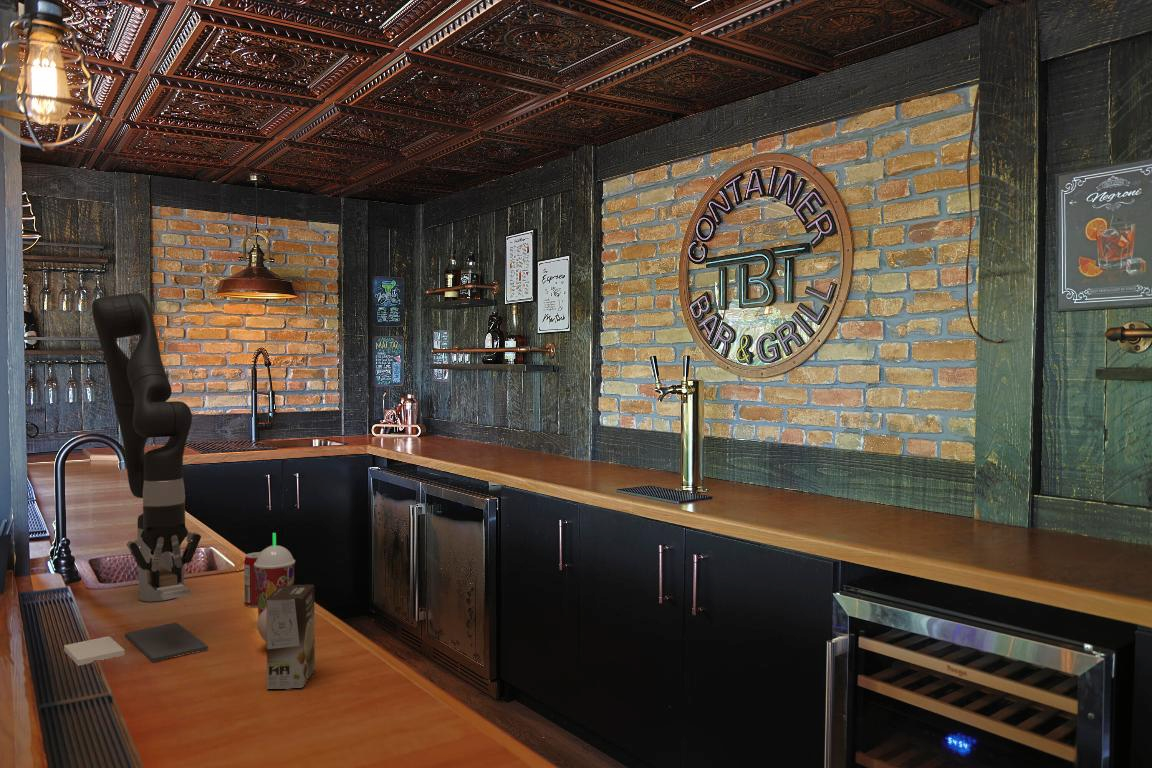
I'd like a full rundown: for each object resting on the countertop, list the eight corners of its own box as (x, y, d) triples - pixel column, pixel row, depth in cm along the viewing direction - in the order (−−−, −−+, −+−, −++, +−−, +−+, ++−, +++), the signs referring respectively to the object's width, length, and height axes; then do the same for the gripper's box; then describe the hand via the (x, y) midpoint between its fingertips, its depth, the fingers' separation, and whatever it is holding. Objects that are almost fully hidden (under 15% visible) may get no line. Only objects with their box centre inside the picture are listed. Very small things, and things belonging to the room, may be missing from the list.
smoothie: (304, 621, 182) (302, 530, 182) (278, 633, 174) (277, 538, 174) (272, 617, 185) (271, 528, 184) (246, 629, 177) (244, 535, 176)
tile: (109, 636, 170) (124, 649, 162) (109, 643, 170) (124, 658, 162) (63, 645, 165) (77, 660, 157) (64, 653, 165) (78, 668, 157)
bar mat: (176, 626, 179) (176, 622, 179) (207, 650, 165) (207, 646, 165) (125, 636, 173) (125, 632, 173) (153, 662, 158) (153, 658, 158)
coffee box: (304, 689, 145) (302, 598, 144) (266, 691, 144) (264, 599, 144) (316, 670, 154) (314, 583, 154) (280, 671, 154) (279, 584, 153)
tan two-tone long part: (142, 584, 171) (142, 569, 171) (166, 580, 174) (166, 565, 174) (164, 599, 160) (164, 584, 160) (189, 595, 163) (189, 580, 163)
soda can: (275, 602, 196) (274, 552, 196) (257, 609, 191) (256, 557, 191) (257, 599, 199) (256, 549, 198) (239, 606, 194) (238, 554, 193)
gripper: (194, 495, 174) (196, 577, 175) (120, 503, 165) (121, 590, 165) (207, 499, 168) (208, 584, 169) (130, 508, 159) (132, 598, 160)
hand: (165, 586), depth 167 cm, fingers closed on tan two-tone long part, 3 cm apart
